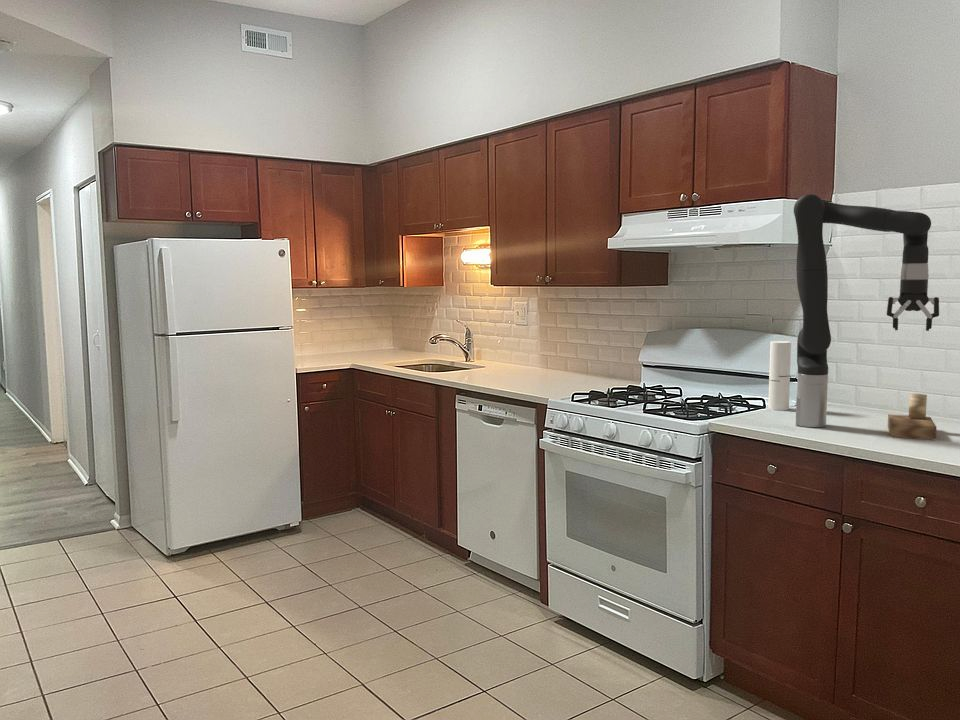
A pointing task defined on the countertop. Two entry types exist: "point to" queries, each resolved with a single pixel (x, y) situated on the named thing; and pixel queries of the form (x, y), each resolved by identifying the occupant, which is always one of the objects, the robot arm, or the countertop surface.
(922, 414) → the peg
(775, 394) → the cylindrical container
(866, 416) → the countertop surface
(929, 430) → the board
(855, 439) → the countertop surface
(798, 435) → the countertop surface
